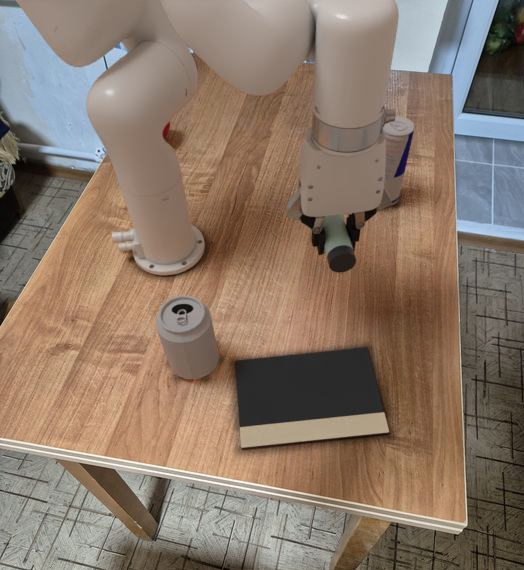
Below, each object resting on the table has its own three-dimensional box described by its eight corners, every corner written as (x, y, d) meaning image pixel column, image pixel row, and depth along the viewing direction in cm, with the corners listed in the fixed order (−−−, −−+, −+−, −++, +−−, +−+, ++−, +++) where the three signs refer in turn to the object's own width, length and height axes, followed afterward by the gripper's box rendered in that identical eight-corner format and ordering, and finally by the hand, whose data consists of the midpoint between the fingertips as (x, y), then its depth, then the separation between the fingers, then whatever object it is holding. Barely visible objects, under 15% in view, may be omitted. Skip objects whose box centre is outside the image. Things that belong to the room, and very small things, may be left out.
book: (241, 449, 69) (241, 447, 68) (234, 362, 77) (234, 360, 76) (388, 434, 69) (389, 432, 69) (367, 349, 77) (367, 346, 76)
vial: (314, 222, 74) (317, 202, 71) (339, 220, 74) (342, 201, 71) (327, 273, 68) (330, 254, 65) (353, 271, 69) (358, 252, 66)
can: (220, 339, 79) (210, 288, 69) (219, 381, 75) (208, 333, 65) (171, 341, 79) (155, 291, 69) (168, 383, 75) (150, 336, 65)
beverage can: (397, 209, 94) (414, 135, 81) (366, 206, 94) (378, 133, 82) (399, 190, 97) (415, 115, 84) (369, 187, 97) (381, 113, 85)
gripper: (411, 97, 58) (386, 221, 73) (267, 113, 58) (271, 234, 73) (431, 136, 54) (400, 258, 69) (275, 153, 54) (278, 273, 69)
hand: (334, 245), depth 71 cm, fingers closed on vial, 3 cm apart
